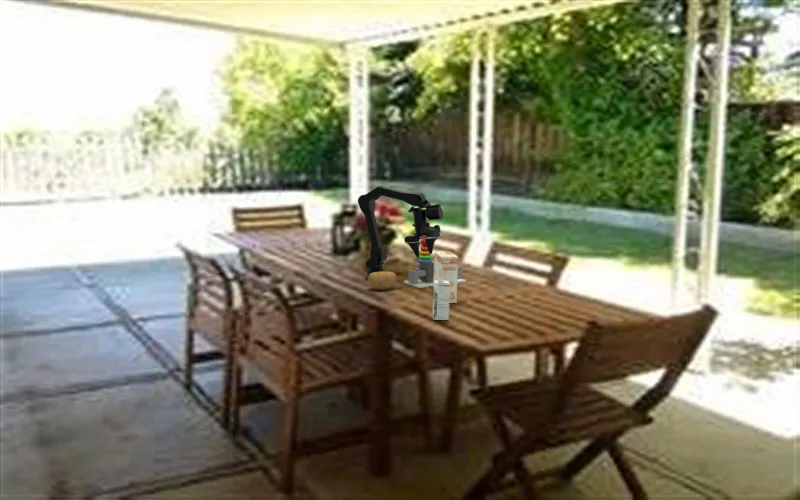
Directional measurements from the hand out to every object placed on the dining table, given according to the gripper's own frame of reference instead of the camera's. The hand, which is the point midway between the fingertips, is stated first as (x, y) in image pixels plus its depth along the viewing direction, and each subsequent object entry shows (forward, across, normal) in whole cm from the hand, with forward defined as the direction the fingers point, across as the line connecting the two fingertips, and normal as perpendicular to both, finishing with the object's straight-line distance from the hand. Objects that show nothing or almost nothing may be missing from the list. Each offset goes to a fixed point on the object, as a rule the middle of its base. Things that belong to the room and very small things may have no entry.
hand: (424, 255), depth 401 cm
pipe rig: (+13, +6, 0) cm, 14 cm away
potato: (+11, -22, +7) cm, 26 cm away
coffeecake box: (+16, -21, -25) cm, 36 cm away
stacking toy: (+12, +16, +15) cm, 25 cm away
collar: (+11, +1, +1) cm, 12 cm away
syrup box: (+18, -48, -44) cm, 68 cm away
